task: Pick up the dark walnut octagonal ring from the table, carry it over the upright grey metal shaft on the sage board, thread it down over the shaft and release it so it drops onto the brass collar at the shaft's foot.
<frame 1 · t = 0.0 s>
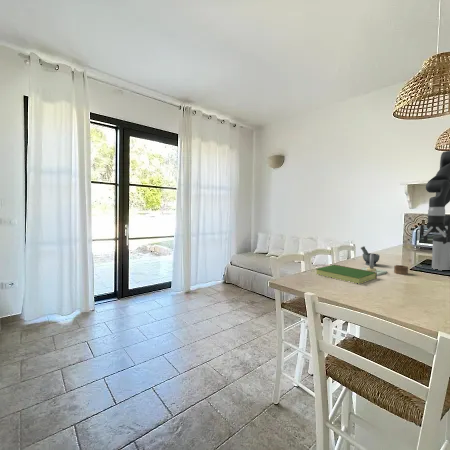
hand: (434, 243, 144), 17 cm above the kitchen island, tool pointing down, fingers open, 8 cm apart
hardcover book: (344, 277, 139), on the kitchen island
mortar and pestle: (369, 264, 168), on the kitchen island
ring: (400, 273, 144), on the kitchen island
post: (371, 272, 147), on the kitchen island
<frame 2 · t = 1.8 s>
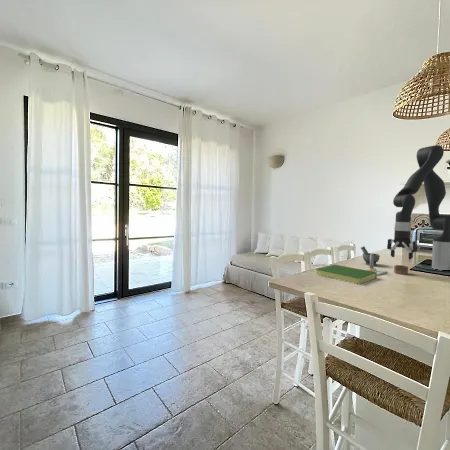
hand: (401, 258, 143), 9 cm above the kitchen island, tool pointing down, fingers open, 8 cm apart
nothing on the kitchen island moved.
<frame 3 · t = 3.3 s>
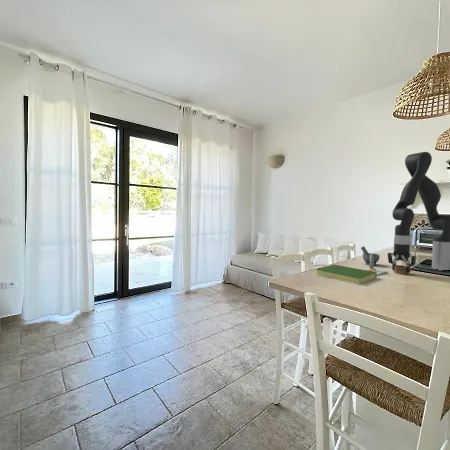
hand: (400, 271, 144), 1 cm above the kitchen island, tool pointing down, fingers closed on ring, 6 cm apart
ring: (400, 273, 144), on the kitchen island, touching gripper
everything else where it was.
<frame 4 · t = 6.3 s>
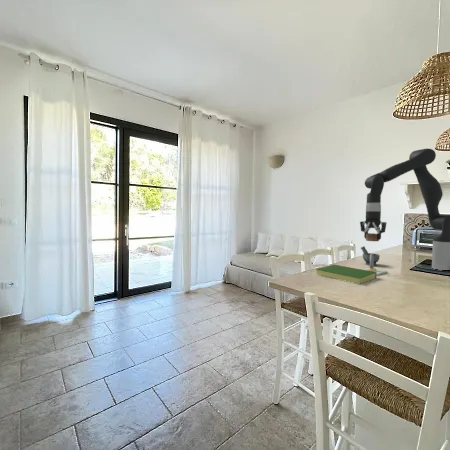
hand: (372, 239, 146), 19 cm above the kitchen island, tool pointing down, fingers closed on ring, 6 cm apart
ring: (372, 240, 146), point 19 cm above the kitchen island, touching gripper
everything else where it was.
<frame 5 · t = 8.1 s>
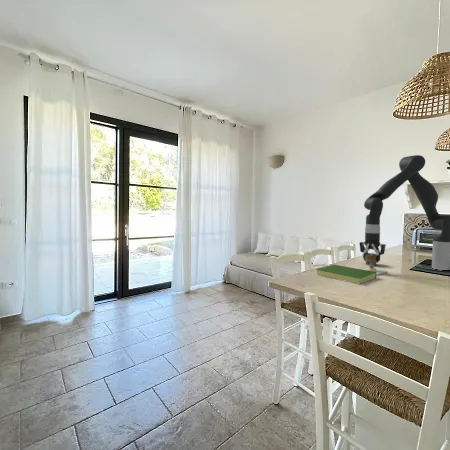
hand: (371, 260, 147), 7 cm above the kitchen island, tool pointing down, fingers closed on ring, 6 cm apart
ring: (371, 261, 147), point 6 cm above the kitchen island, touching gripper
everything else where it was.
when the fingers open (5 cm above the kitchen island, at t = 9.4 s): ring drops 2 cm, resting on post.
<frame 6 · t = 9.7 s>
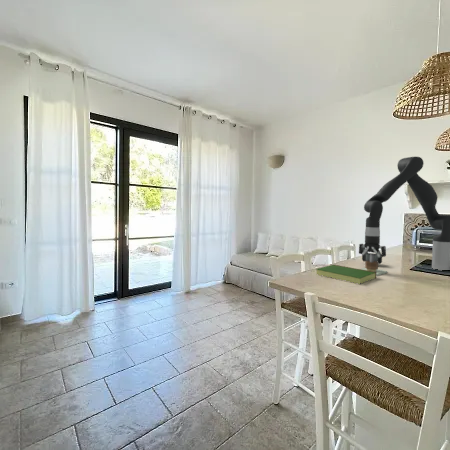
hand: (371, 262, 147), 6 cm above the kitchen island, tool pointing down, fingers open, 8 cm apart
ring: (371, 268, 147), point 2 cm above the kitchen island, touching post
everything else where it was.
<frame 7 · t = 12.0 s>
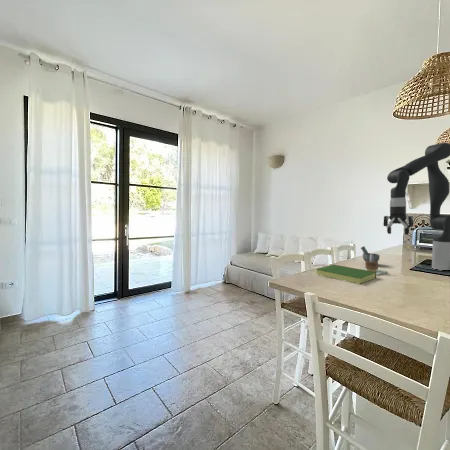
hand: (397, 234, 143), 23 cm above the kitchen island, tool pointing down, fingers open, 8 cm apart
nothing on the kitchen island moved.
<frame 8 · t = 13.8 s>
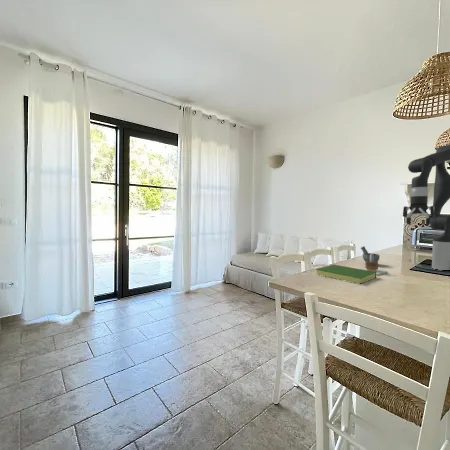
hand: (417, 224, 140), 28 cm above the kitchen island, tool pointing down, fingers open, 8 cm apart
nothing on the kitchen island moved.
at the end: ring 0.1 cm from the post (horizontally); ring point 2.2 cm above the kitchen island; the gripper is holding nothing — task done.
